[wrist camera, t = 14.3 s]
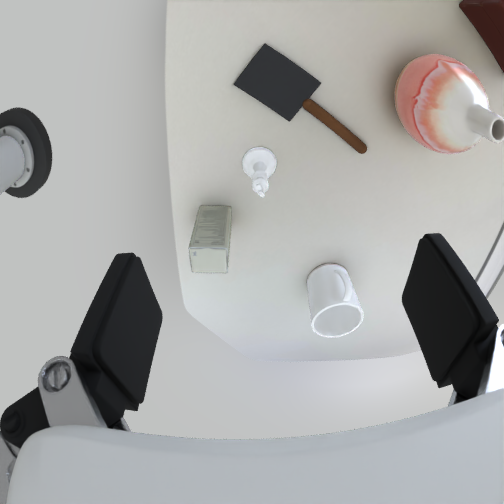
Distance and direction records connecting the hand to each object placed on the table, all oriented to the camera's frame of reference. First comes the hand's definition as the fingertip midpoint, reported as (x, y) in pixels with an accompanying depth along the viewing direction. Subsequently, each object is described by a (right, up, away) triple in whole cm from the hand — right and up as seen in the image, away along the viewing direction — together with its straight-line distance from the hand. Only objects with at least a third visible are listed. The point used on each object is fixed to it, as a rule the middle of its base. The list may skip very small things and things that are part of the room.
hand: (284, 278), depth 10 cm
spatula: (+6, +21, +26) cm, 34 cm away
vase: (+24, +24, +24) cm, 41 cm away
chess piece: (0, +14, +32) cm, 35 cm away
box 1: (-7, +6, +38) cm, 39 cm away
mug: (+13, -3, +45) cm, 47 cm away
